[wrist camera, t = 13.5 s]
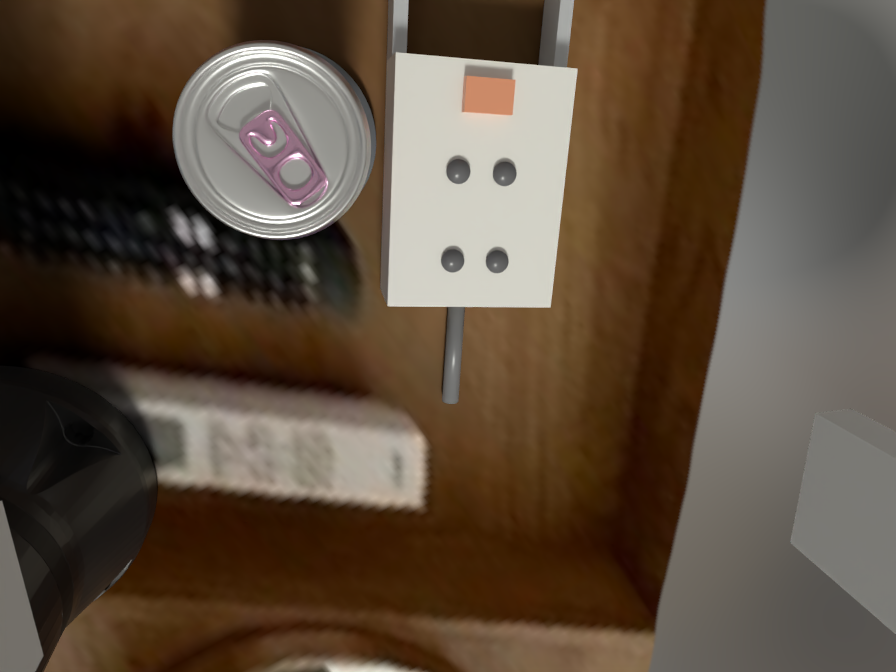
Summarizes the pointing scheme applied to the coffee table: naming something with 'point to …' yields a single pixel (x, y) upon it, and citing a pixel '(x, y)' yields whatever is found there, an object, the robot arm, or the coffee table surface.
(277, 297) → the coffee table surface
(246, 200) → the beverage can
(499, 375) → the coffee table surface
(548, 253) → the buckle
